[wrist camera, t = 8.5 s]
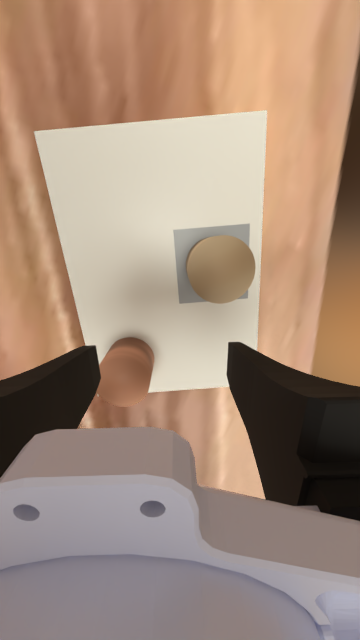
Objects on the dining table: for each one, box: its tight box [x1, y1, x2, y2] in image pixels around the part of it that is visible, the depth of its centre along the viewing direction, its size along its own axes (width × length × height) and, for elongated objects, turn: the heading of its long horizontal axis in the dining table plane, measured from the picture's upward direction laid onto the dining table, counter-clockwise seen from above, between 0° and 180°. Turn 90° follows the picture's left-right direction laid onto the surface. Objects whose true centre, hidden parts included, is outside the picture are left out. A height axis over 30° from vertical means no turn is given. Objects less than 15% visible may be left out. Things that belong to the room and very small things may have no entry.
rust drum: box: [96, 337, 154, 407], centre depth 19 cm, size 4×4×4 cm
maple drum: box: [186, 235, 256, 304], centre depth 16 cm, size 4×4×4 cm
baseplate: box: [34, 110, 267, 396], centre depth 19 cm, size 22×16×1 cm
